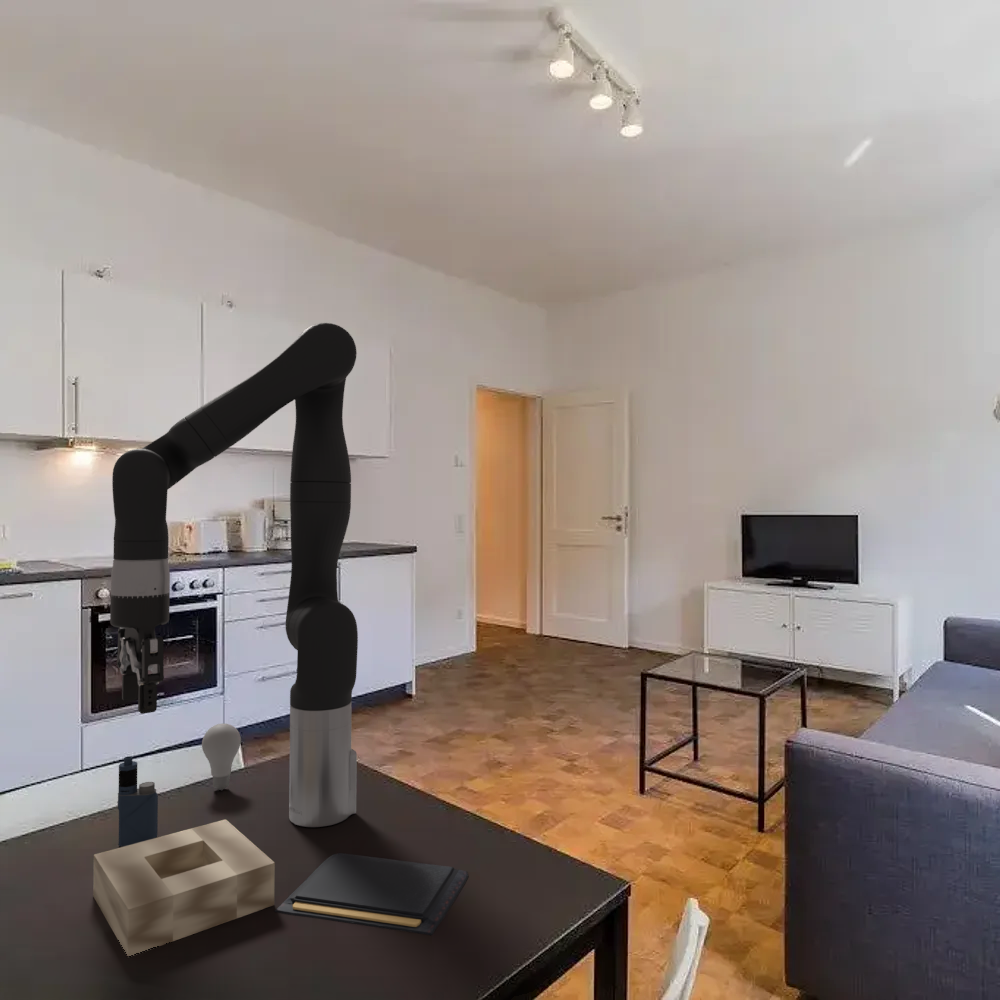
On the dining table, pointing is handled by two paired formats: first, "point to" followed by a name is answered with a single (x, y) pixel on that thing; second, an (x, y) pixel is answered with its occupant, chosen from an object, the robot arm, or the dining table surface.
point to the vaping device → (136, 806)
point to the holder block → (181, 884)
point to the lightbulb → (221, 752)
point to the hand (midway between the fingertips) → (138, 706)
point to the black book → (377, 893)
